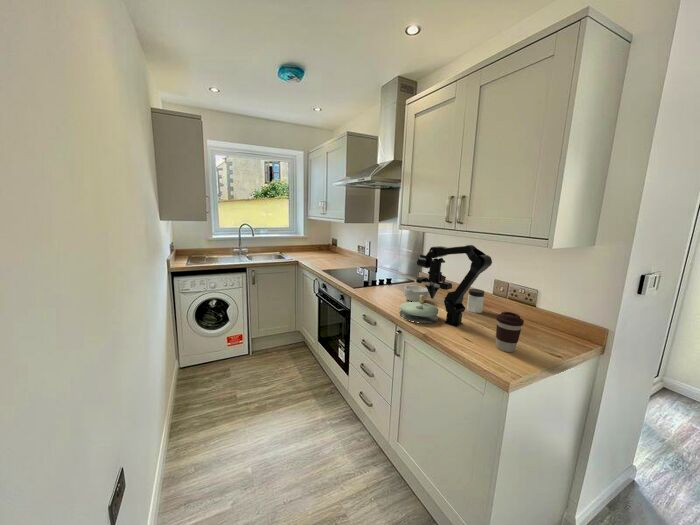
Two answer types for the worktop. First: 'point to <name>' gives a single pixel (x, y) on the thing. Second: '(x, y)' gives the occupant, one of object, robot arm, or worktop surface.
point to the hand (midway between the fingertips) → (432, 298)
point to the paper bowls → (415, 292)
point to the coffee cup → (508, 331)
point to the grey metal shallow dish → (419, 318)
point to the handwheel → (419, 308)
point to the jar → (475, 300)
